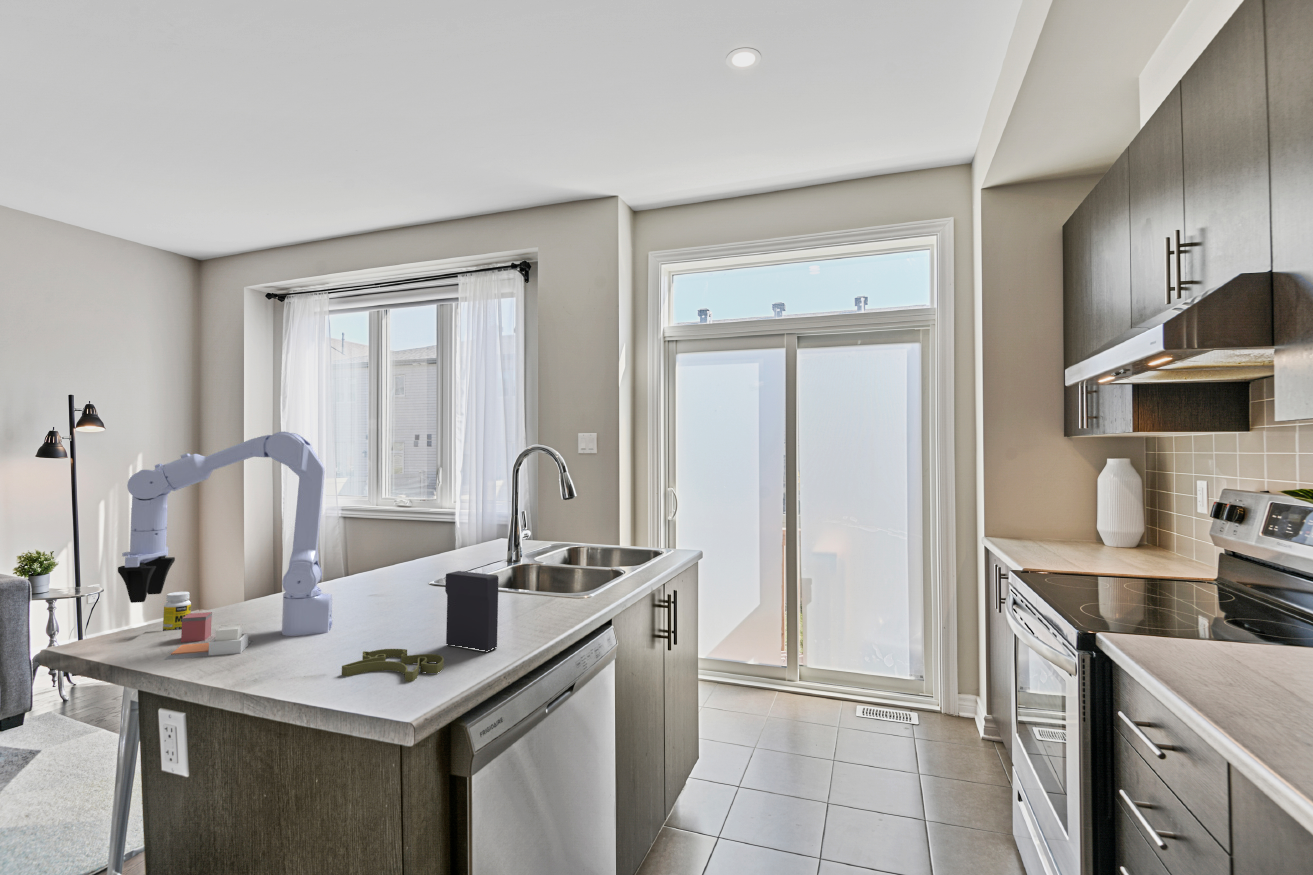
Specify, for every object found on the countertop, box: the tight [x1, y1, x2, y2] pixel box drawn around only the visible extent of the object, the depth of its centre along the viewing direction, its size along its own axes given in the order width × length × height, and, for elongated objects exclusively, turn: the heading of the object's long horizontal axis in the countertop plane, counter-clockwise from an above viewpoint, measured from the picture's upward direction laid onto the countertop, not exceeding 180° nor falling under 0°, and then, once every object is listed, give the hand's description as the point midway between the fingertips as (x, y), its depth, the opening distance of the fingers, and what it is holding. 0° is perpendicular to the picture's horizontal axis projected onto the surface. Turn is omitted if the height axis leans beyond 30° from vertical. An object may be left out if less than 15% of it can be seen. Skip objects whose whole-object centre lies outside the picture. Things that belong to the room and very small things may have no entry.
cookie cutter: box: [341, 648, 445, 682], centre depth 117 cm, size 18×12×2 cm, turn 79°
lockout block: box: [180, 611, 213, 643], centre depth 130 cm, size 4×4×6 cm
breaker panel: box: [164, 632, 253, 661], centre depth 122 cm, size 12×9×4 cm
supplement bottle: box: [162, 591, 192, 632], centre depth 139 cm, size 5×5×8 cm
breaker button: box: [214, 623, 244, 641], centre depth 122 cm, size 4×4×3 cm
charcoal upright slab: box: [444, 570, 499, 651], centre depth 130 cm, size 11×4×15 cm, turn 65°
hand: (146, 597), depth 127 cm, fingers open, 7 cm apart
